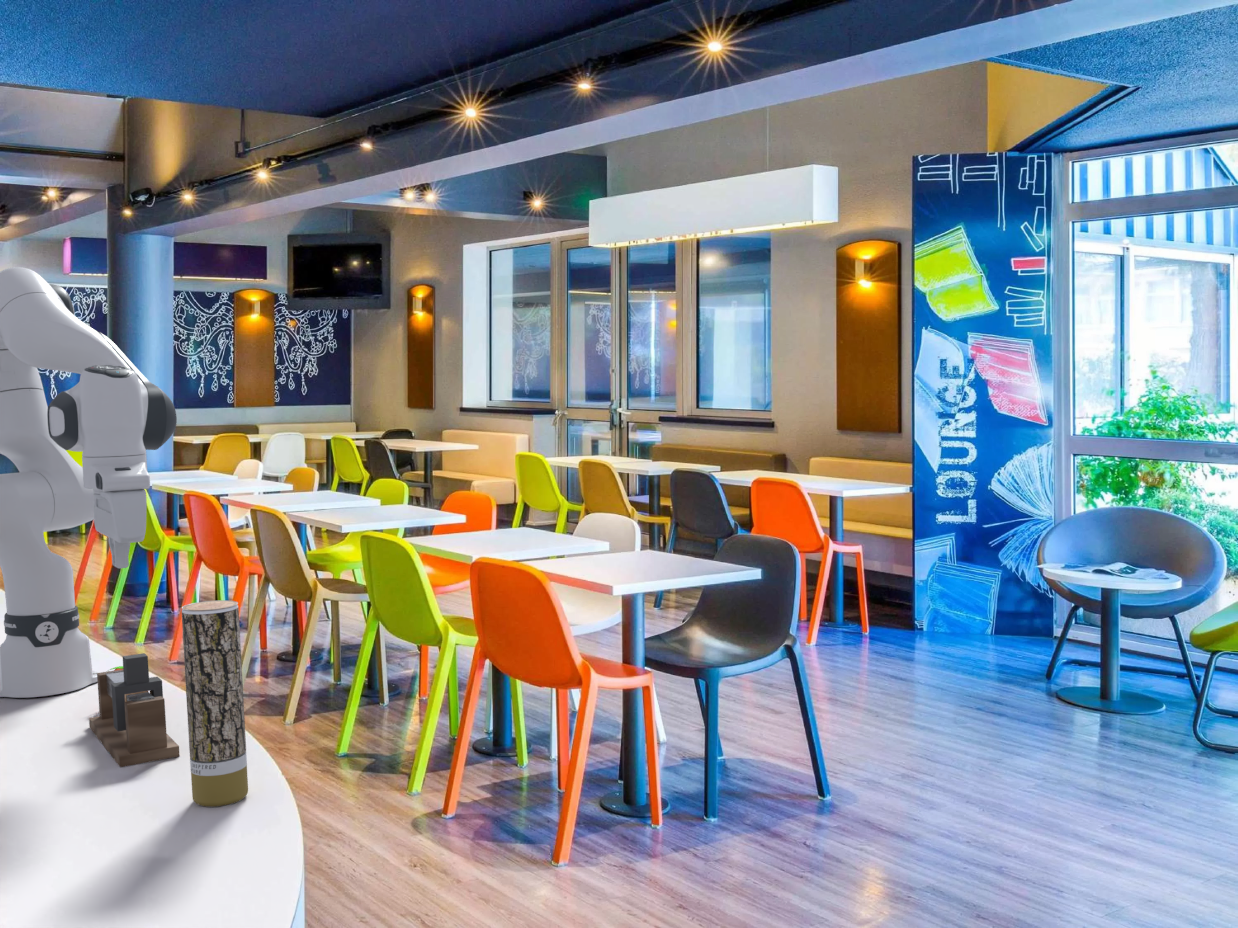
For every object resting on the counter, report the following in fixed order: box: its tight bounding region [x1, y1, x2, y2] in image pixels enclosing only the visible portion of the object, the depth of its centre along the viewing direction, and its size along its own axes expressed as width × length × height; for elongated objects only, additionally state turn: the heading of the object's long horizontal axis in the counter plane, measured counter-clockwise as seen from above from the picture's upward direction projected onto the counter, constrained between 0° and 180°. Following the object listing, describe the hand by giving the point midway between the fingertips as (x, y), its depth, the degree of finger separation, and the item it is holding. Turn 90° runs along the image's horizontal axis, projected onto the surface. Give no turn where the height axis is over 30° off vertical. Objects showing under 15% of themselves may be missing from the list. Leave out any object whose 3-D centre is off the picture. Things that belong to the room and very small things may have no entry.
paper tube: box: [181, 599, 249, 808], centre depth 152 cm, size 7×7×25 cm
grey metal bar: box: [106, 671, 155, 702], centre depth 180 cm, size 22×3×3 cm, turn 33°
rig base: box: [88, 669, 180, 768], centre depth 180 cm, size 25×8×8 cm, turn 33°
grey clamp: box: [111, 652, 164, 732], centre depth 175 cm, size 3×6×10 cm, turn 123°
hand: (120, 567), depth 179 cm, fingers closed
